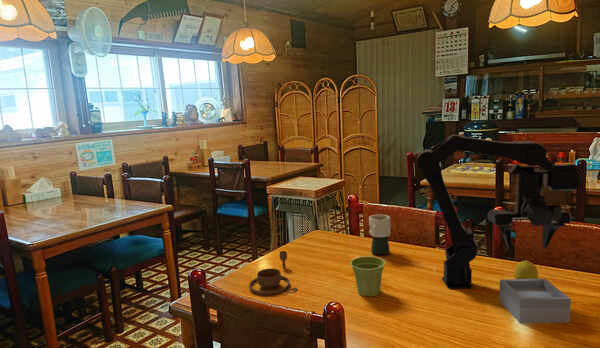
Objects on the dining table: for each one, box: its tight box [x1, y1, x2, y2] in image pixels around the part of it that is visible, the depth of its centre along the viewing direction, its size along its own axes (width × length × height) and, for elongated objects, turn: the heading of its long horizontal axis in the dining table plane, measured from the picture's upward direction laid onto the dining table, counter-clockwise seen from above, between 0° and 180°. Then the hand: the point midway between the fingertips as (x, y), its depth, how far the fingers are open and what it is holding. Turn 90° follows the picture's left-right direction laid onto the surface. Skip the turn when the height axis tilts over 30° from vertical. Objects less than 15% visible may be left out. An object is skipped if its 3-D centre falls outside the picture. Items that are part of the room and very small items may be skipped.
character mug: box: [368, 214, 391, 255], centre depth 141 cm, size 11×7×13 cm, turn 148°
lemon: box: [514, 259, 539, 279], centre depth 109 cm, size 6×6×8 cm
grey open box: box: [498, 278, 572, 324], centre depth 98 cm, size 11×11×6 cm
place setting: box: [248, 250, 298, 296], centre depth 123 cm, size 18×20×6 cm
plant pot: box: [350, 255, 386, 297], centre depth 112 cm, size 9×9×9 cm
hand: (526, 247), depth 108 cm, fingers open, 9 cm apart
